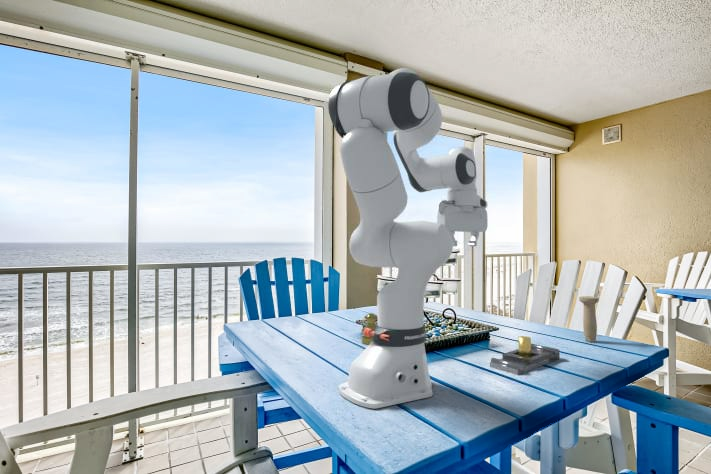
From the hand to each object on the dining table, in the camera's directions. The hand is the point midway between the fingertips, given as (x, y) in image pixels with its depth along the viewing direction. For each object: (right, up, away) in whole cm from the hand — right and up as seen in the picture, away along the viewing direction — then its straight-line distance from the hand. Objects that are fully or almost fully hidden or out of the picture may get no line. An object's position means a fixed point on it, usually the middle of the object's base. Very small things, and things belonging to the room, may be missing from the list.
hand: (463, 246), depth 111 cm
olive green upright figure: (-28, -34, +16) cm, 47 cm away
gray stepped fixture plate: (+12, -32, -11) cm, 37 cm away
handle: (+47, -33, +12) cm, 59 cm away
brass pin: (+15, -33, -9) cm, 37 cm away
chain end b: (+17, -33, -8) cm, 38 cm away
